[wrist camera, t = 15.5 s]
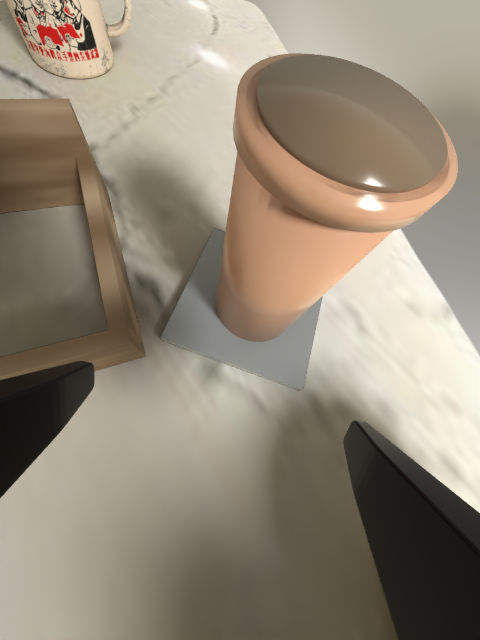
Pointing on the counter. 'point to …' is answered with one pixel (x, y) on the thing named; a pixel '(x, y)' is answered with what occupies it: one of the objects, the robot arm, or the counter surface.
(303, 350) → the slate tile
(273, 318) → the terracotta pot
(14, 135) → the wooden box frame
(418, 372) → the counter surface
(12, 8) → the teacup with lid
